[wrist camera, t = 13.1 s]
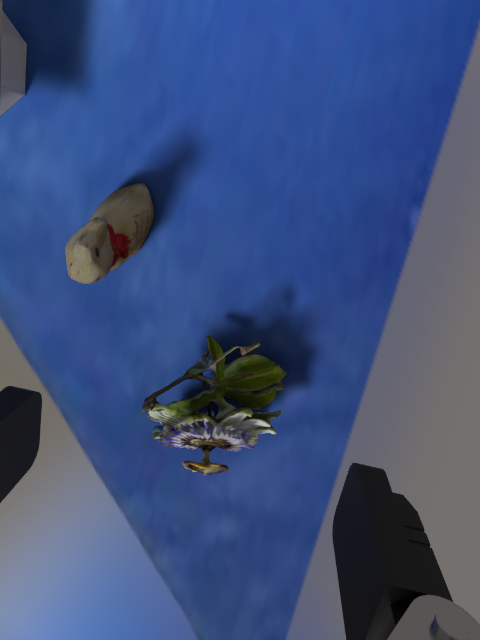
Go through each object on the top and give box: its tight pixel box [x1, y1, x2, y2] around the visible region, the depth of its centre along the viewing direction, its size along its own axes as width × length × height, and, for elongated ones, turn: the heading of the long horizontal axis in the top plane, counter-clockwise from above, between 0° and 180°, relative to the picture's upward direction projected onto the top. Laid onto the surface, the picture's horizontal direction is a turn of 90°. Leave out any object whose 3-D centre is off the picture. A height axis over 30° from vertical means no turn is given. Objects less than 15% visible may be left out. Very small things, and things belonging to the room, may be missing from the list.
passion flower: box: [142, 336, 286, 475], centre depth 41 cm, size 11×11×12 cm
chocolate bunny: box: [65, 183, 154, 284], centre depth 36 cm, size 6×8×10 cm
